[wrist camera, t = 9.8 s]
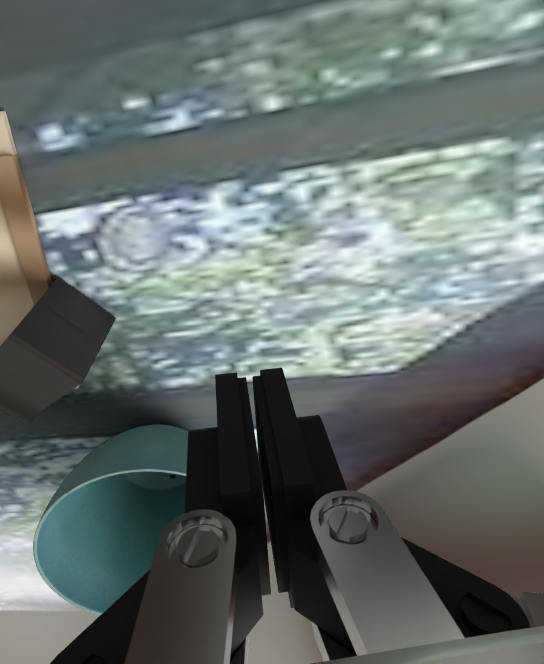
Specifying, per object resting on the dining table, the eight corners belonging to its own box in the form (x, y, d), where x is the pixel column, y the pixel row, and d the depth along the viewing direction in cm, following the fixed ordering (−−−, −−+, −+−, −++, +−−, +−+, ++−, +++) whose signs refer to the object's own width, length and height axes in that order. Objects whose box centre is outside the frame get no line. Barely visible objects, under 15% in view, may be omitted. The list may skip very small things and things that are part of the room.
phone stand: (116, 316, 43) (49, 385, 48) (58, 274, 41) (-7, 352, 46) (84, 381, 36) (8, 455, 41) (10, 335, 33) (-61, 420, 38)
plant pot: (36, 473, 50) (-10, 579, 39) (133, 352, 45) (112, 433, 34) (179, 537, 57) (173, 642, 46) (277, 437, 52) (296, 528, 41)
